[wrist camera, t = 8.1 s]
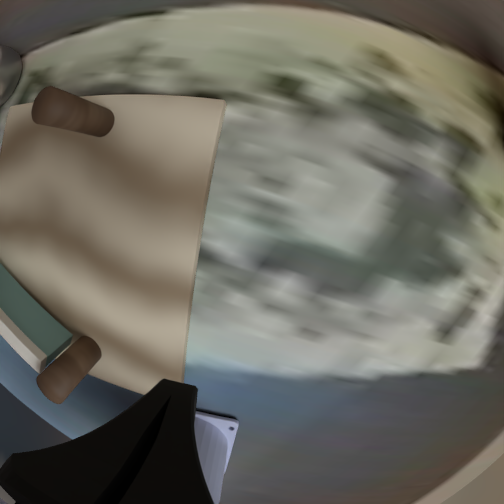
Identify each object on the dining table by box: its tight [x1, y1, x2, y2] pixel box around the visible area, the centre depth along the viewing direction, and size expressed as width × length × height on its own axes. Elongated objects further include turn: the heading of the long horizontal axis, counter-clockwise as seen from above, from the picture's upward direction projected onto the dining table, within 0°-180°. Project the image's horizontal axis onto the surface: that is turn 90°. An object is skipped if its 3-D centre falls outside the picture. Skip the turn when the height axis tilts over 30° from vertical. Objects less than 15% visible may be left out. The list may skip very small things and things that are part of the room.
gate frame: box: [0, 86, 227, 404], centre depth 15 cm, size 22×20×7 cm
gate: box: [0, 263, 73, 374], centre depth 16 cm, size 14×2×4 cm, turn 57°
